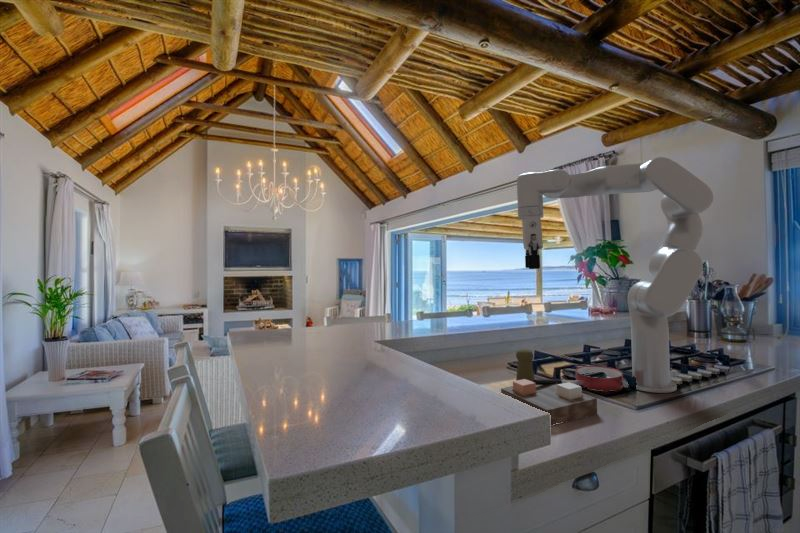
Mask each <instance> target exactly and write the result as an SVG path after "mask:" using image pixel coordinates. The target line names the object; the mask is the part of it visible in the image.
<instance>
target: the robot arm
mask: <svg viewBox="0 0 800 533" xmlns="http://www.w3.org/2000/svg"><path fill="white" fill-rule="evenodd" d="M516 190H517V191H516V194H517V198H516V199H517V219H518V220H521V223H522V224H521V226H522V227H521V228H522V230H521V232H522V241H523V242H522V244H523V249H524V250H525V256H524V263H525V268H526V269H529V270H540V269H541V257H540V250H542V249H543V247H544V244H543V232H542V231H543V230H542V220H541V219H542V218H544V197H545V198H547V199H554V200H555V199H569V198H572V199H573V198H580V197H596V196H602V195H603V196H605V195H616V194H617V195H618V194H636V193H637V194H638V193H639V194H640V193H649V192H650V193H651V192H654V191H657V190H658V191H659V192H660V193H662V194H663V196H662V198H661V200H660V208H661V211H662V212H663V214H664V216H665V218H666V220H667V228H666V231H665V234H664V235H663V238H662V239H661V241H660V242H659V245H657V248H656V250H655V251H654V253H653V255H652V256H651V258H650V259H649V262H648V270H649V272H650V274H651V275H652V276H653V277H654V279H653V280H641V281H638V282H636V283H634V284H632V286H631V287H630V289H629V290H628V293H627V300H626V301H627V307H628V311H629V318H630V320H629V321H630V337H631V338H630V340H631V367H632V368H631V370H632V377H633V376H634V377H635V378H636V383H637V385H636V389H635V390H637V391H641V392H642V391H643V392H645V393H658V394H668V393H673V392H676V391H677V390H678V388H677V387H678V385H677V384H676V383H675V382H674V381H672V379H673V378H675V377H678V376H680V375H679V372H678V370H677V369H673V370H671V368H670V366H671V365H670V364H671V362H670V361H671V360H670V338H669V337H670V332H669V331H670V328H669V321H668V317H672V316H674V315H676V314H677V313H678V312H679V311H680V310H681V309H682V308H683V306H684V305H685V303H686V301H687V300H688V298H689V296H690V294H691V293H692V291H693V289H694V288H695V286H696V285H697V283H698V280H699V279H700V277H701V276H702V273H703V272H702V271H703V260H702V258H701V256H700V255H699V254H698V253H697V252H696V249H697V247H698V245H699V242H700V241H701V238H702V234H703V231H704V230H703V229H704V228H703V222H702V219H701V217H700V213H703V212H705V211H706V210H708V209H709V208H710V207H711V205H712V204H713V202H714V201H713V200H714V193H713V191H712V189H711V188H710V187H709V186H708V185H707V184H706V183H705V182H704V181H703V180H701V179H700V178H698V176H696V175H695V174H693V173H692V172H691V171H689V170H688V169H686V168H685V167H683V166H682V165H680V164H679V163H678V162H676V161H675V160H673V159H670V158H668V157H665V156H657V157H655V158H652V159H650V160H648V161H646V162H643V163H642V162H640V163H639V162H638V163H630V164H629V163H628V164H627V163H625V164H613V165H611V164H610V165H603V166H599V167H597V168H594V169H591V170H587V171H584V172H580V173H574V174H570V173H568V171H566V170H564V169H560V168H557V169H556V168H555V169H550V170H546V171H541V172H525V173H522V174H519V175H518V177H517V178H516ZM626 384H627V386H629V384H628V382H627V381H626Z"/></svg>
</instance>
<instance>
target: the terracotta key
mask: <svg viewBox="0 0 800 533" xmlns="http://www.w3.org/2000/svg"><path fill="white" fill-rule="evenodd" d="M512 386H513V391H514V392H516V393H518V394H521V395H523V396H524V395H528V394H533V393H536V384H535V383H534V382H532V381H529V380H527V379H522V380H517V381H516V380H512Z"/></svg>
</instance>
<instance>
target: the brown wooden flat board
mask: <svg viewBox="0 0 800 533" xmlns="http://www.w3.org/2000/svg"><path fill="white" fill-rule="evenodd" d="M557 385H558V384H557V383H556V384H550V385H536V393H533V394H528V395H524V396H523V395H521V394H518V393H516V392H514V391H513V385H510V386H505V387H502V388H500V394H501V393H503V394H505V395H508V396H511V397H512V398H514V399H517V400H519V401H521V402H523V403H526V404H528V405H530V406H532V407H535V408H537V409H540V410H542V411H545V412H548V413H550V415H551V425H553V424H556V423H561V422H565V423H567V422H566V421H568V422H571V420H572V421H575V420H579V419H580V420H581V419H583V418H587V417H590V416H594V415H598V398H596V397H594V396H592V395H590V394H586V393H583V392H582V397H579V398H575V399H571V400H569V399H566V398H564V397H562V396H559V395H557ZM561 424H562V423H561ZM553 426H554V425H553Z"/></svg>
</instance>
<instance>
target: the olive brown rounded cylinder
mask: <svg viewBox="0 0 800 533" xmlns="http://www.w3.org/2000/svg"><path fill="white" fill-rule="evenodd" d="M515 357H516V359H517V369H516V379H515V381H517V380H522V379H527V380H529V381H532V382H533V381H534V379H536V378H535V373H534V372H535V371H534V369H533V368H534V367H533V362H532V361H533V359H534V353H533V351H532V350H530V349H527V348H526V349H525V348H524V349H523V348H522V349H519V350H517V351H516V352H515Z"/></svg>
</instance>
